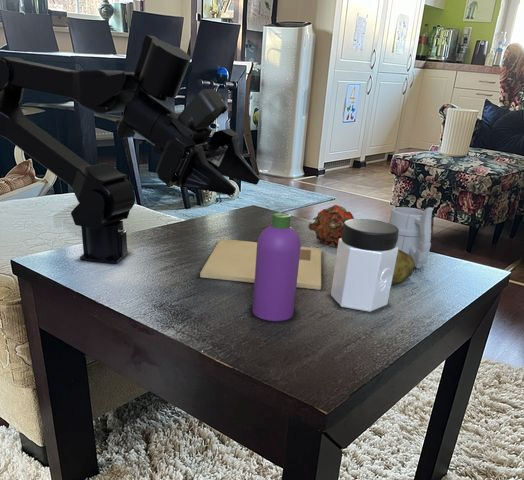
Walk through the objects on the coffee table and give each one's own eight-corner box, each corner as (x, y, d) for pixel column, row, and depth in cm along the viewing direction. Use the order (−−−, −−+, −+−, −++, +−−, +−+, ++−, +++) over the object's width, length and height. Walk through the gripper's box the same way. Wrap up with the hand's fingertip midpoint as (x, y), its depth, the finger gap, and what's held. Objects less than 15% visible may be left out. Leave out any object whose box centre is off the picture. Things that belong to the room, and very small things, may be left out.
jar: (362, 316, 79) (376, 237, 73) (320, 298, 84) (331, 223, 78) (396, 302, 85) (411, 228, 79) (355, 286, 90) (367, 215, 84)
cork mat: (200, 277, 88) (200, 272, 88) (220, 242, 106) (220, 238, 105) (320, 289, 87) (321, 284, 87) (320, 252, 105) (321, 248, 104)
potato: (421, 292, 90) (431, 245, 86) (345, 288, 89) (353, 241, 85) (407, 274, 97) (416, 231, 93) (337, 270, 96) (343, 227, 92)
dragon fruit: (336, 261, 106) (318, 251, 117) (371, 236, 105) (350, 228, 116) (315, 225, 102) (298, 218, 113) (351, 199, 102) (330, 194, 113)
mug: (406, 255, 107) (418, 194, 102) (439, 276, 98) (455, 210, 92) (372, 256, 105) (383, 194, 100) (402, 277, 95) (417, 210, 90)
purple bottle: (250, 318, 75) (256, 218, 69) (254, 302, 81) (261, 207, 74) (292, 323, 75) (303, 222, 68) (294, 306, 80) (304, 211, 74)
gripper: (147, 74, 67) (247, 143, 67) (211, 75, 83) (293, 131, 82) (119, 153, 74) (210, 217, 73) (184, 140, 89) (260, 193, 88)
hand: (246, 186), depth 79 cm, fingers open, 9 cm apart
